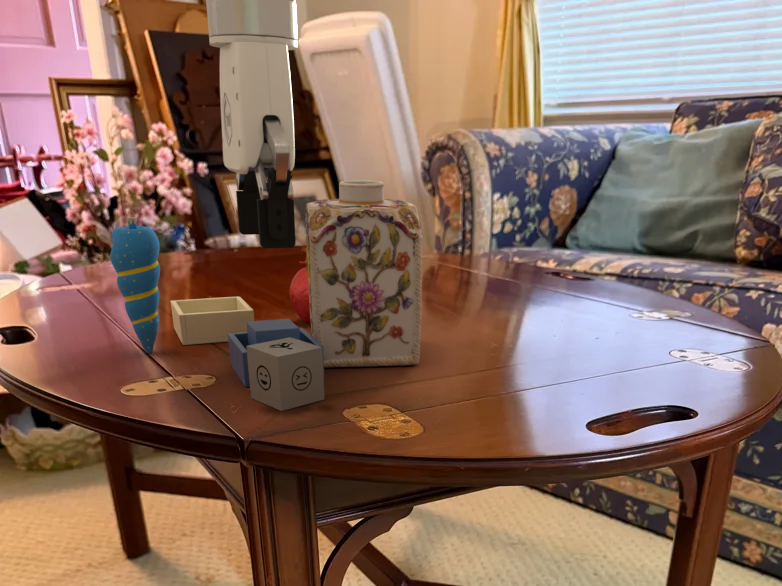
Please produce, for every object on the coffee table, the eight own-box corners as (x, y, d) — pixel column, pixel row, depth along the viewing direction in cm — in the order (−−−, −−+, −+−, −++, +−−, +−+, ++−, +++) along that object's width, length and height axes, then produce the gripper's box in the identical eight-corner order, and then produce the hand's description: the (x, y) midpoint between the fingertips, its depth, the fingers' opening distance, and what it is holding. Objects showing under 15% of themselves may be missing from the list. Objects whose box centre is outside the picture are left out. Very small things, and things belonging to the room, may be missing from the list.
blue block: (258, 375, 78) (255, 331, 76) (250, 364, 81) (246, 321, 79) (301, 371, 79) (299, 327, 77) (291, 360, 83) (288, 318, 81)
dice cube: (293, 387, 76) (290, 337, 74) (324, 399, 73) (322, 347, 70) (250, 397, 73) (246, 345, 70) (281, 411, 70) (277, 356, 67)
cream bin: (182, 345, 90) (178, 315, 88) (174, 328, 97) (170, 300, 95) (255, 339, 93) (253, 309, 91) (242, 323, 100) (239, 296, 98)
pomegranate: (370, 329, 98) (369, 252, 93) (291, 331, 97) (287, 253, 92) (362, 312, 106) (361, 241, 102) (290, 314, 105) (286, 242, 101)
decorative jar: (406, 340, 93) (409, 177, 84) (422, 366, 83) (426, 185, 74) (308, 342, 92) (300, 177, 83) (312, 369, 82) (303, 185, 73)
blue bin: (245, 387, 76) (242, 352, 74) (230, 365, 82) (227, 333, 81) (324, 379, 78) (323, 345, 77) (304, 359, 85) (302, 327, 83)
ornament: (147, 345, 90) (126, 207, 82) (183, 350, 88) (165, 209, 81) (116, 356, 85) (92, 211, 78) (154, 361, 84) (132, 213, 76)
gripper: (193, 33, 71) (212, 230, 79) (226, 12, 57) (244, 255, 65) (273, 38, 73) (283, 228, 82) (323, 19, 59) (329, 252, 67)
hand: (266, 240), depth 73 cm, fingers open, 9 cm apart
